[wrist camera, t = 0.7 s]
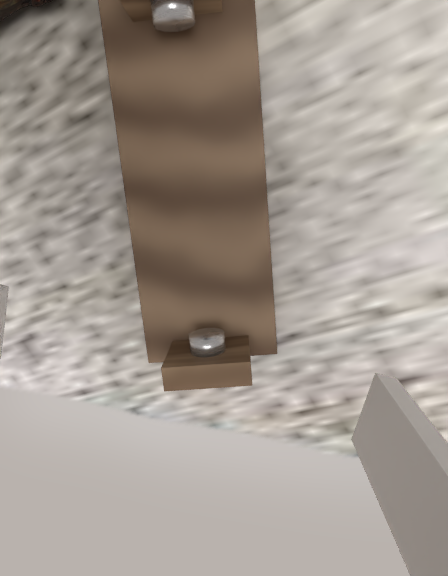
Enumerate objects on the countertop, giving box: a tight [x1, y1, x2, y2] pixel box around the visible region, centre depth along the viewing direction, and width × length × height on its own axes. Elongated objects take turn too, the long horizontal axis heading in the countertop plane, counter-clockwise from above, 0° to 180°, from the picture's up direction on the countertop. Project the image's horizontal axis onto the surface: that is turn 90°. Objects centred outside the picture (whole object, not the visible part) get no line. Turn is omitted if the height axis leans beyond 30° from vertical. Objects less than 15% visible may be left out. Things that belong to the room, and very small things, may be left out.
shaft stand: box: [98, 0, 277, 391], centre depth 34 cm, size 30×12×8 cm, turn 5°
